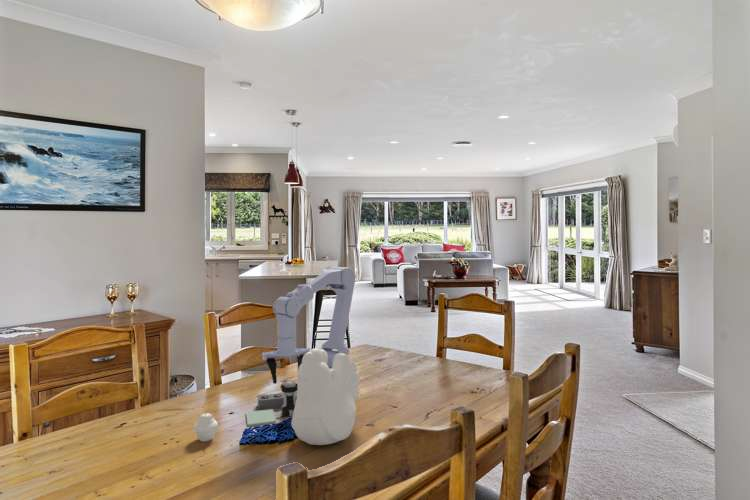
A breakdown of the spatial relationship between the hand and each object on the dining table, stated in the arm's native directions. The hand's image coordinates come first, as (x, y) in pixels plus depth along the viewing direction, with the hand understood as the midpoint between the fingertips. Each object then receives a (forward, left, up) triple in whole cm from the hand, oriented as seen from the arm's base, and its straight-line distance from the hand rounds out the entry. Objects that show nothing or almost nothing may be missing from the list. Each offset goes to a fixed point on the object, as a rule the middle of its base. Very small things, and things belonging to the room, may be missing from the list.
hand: (287, 381), depth 141 cm
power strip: (-1, -10, -10) cm, 14 cm away
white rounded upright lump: (-10, +19, -11) cm, 24 cm away
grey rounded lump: (+23, +10, -11) cm, 27 cm away
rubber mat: (+8, 0, -10) cm, 13 cm away
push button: (0, 0, -11) cm, 11 cm away
